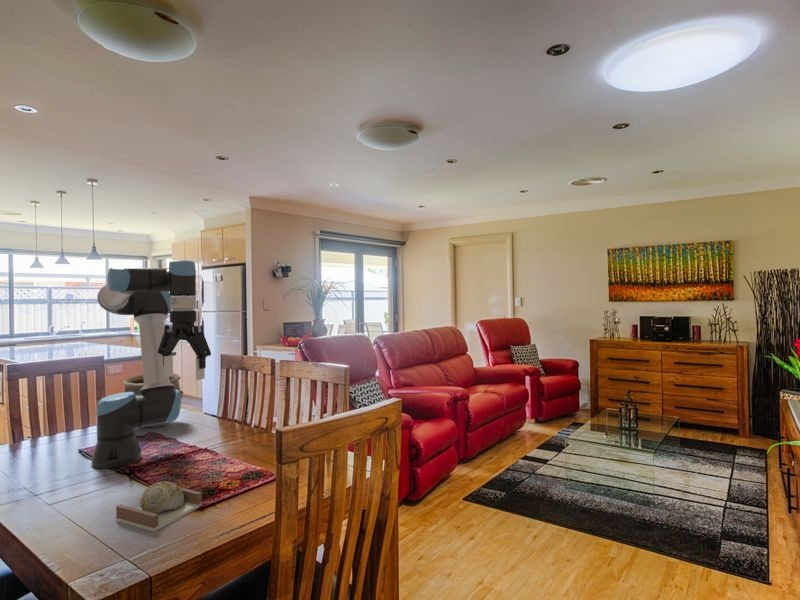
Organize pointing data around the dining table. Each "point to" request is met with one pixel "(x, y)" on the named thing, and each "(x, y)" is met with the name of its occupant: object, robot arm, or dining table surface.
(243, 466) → the dining table surface
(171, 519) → the cradle
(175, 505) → the seashell
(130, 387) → the planter
